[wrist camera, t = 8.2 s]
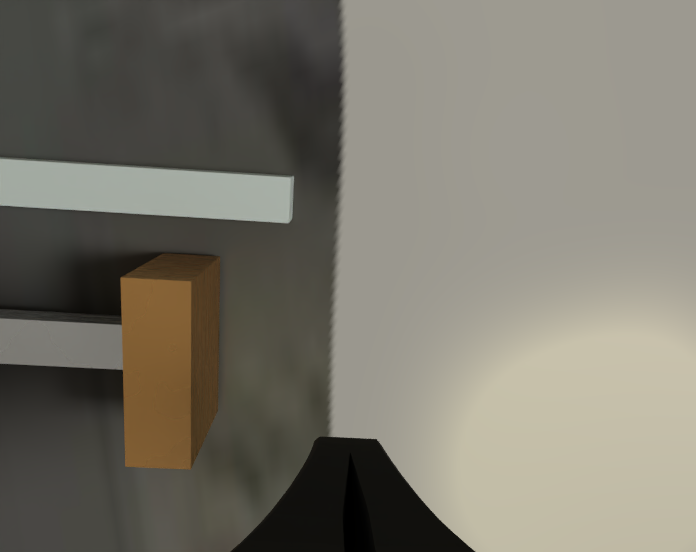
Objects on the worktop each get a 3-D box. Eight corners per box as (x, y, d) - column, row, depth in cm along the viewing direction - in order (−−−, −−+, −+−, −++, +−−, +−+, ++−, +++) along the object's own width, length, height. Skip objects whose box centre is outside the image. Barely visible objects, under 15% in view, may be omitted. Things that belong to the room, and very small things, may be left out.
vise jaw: (217, 434, 21) (190, 498, 17) (-102, 419, 20) (-205, 481, 17) (220, 228, 19) (191, 247, 15) (-128, 207, 19) (-250, 220, 15)
